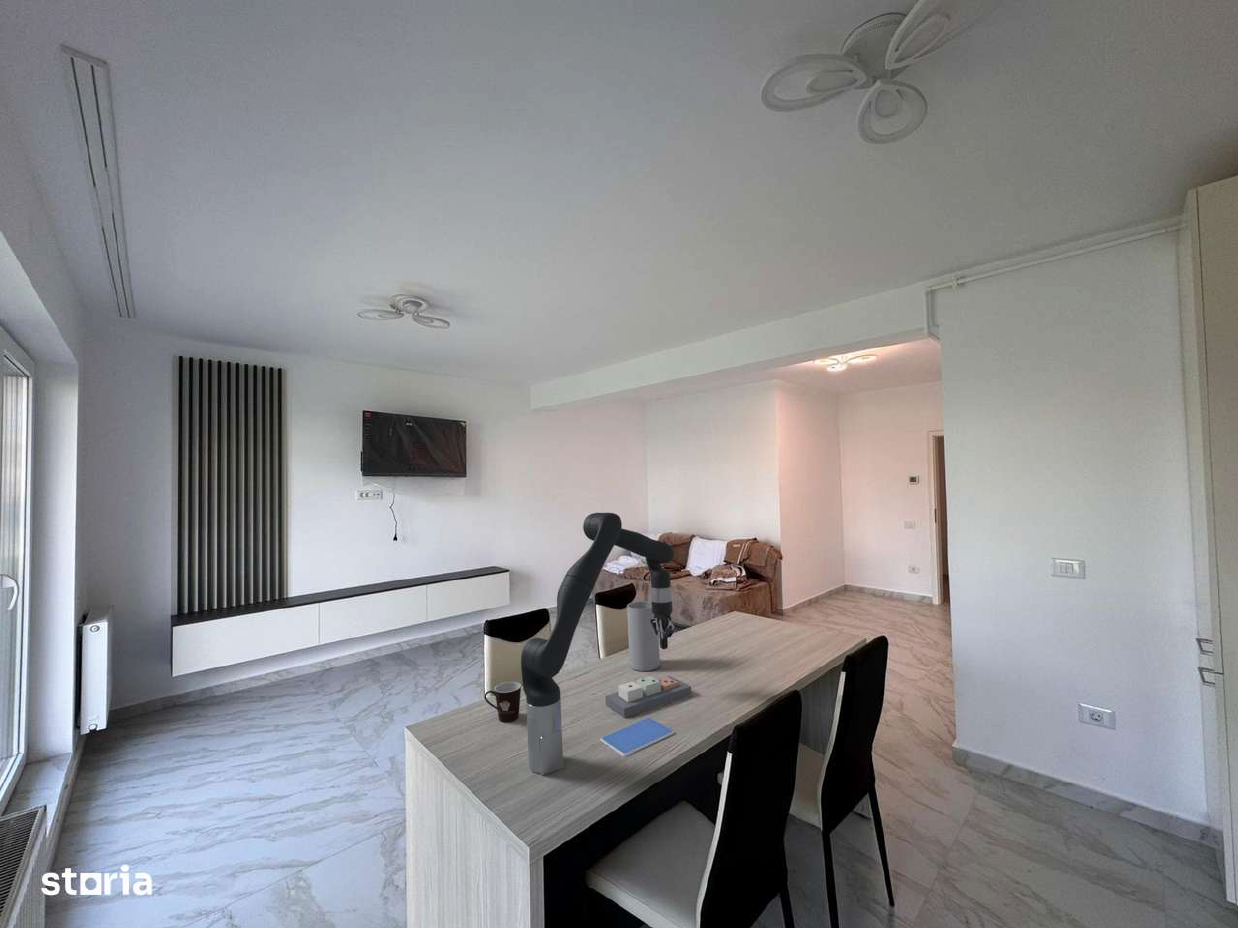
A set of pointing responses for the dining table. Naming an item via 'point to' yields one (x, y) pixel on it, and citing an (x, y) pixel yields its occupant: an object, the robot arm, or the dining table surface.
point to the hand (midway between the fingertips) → (663, 648)
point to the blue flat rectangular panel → (636, 736)
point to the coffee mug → (507, 701)
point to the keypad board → (647, 700)
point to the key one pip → (630, 691)
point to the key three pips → (667, 683)
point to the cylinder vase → (642, 637)
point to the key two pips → (649, 685)
